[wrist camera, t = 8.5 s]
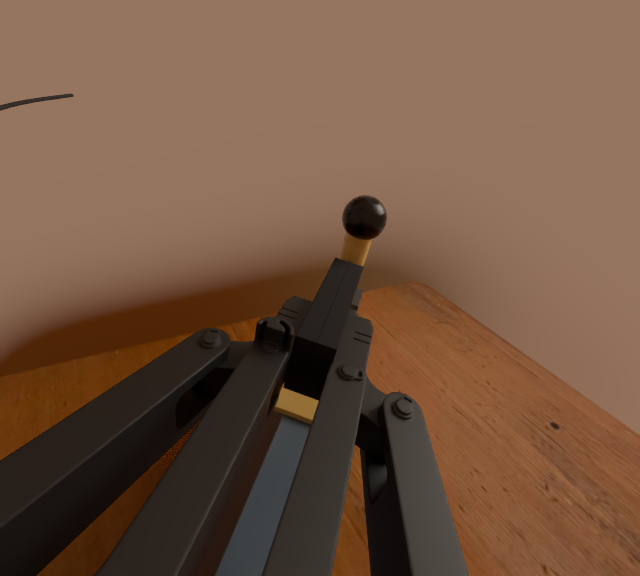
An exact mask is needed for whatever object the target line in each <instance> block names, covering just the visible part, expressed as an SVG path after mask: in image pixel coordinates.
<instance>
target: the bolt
mask: <svg viewBox="0 0 640 576" xmlns="http://www.w3.org/2000/svg"><path fill="white" fill-rule="evenodd" d="M386 220H387V214H386V210H385V208H384V206H383V204H382V203H381V202H380V201H379V200H378V199H376V198H374V197H372V196H367V195H363V196H358V197H356V198H354V199H352V200H351V201H350V202H349V203H348V204H347V205H346V207H345V209H344V212H343V216H342V222H343V226H344V228H345V230H346V234H345V238H344V241H343V244H342V248H341V251H340V255H339V259H341V260H345V261H348V262H351V263H354V264H357V265H360V266H364V263H365V259H366V256H367V253H368V250H369V247H370V244H371V241H372V239H373V238H375V237H377V236H378V235H379V234H380V233H381V232H382V231H383V229H384V227H385V225H386Z"/></svg>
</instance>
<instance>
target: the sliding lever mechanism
mask: <svg viewBox="0 0 640 576" xmlns="http://www.w3.org/2000/svg"><path fill="white" fill-rule="evenodd" d="M362 292H363V290H360V289H356V292H355V295H354V298H353V301H352V304H351V307H350V311H349V313H350V314H353V315H356V316H358V315H359V314H358V313H356V311H357V310H358V307H359V303H360V300H361V296H362ZM283 386H284V384H283ZM283 386H282V388H281V390H280V395H279V399H278V401H277V404H276V406H275V408H274V410H273V412H272V414H271V417H270V419H269V421H268V423H267V425H266V428H265V430H264V432H263V434H262V436H261V438H260V441H259V443H258V445H257V447H256V449H255V452H254V454H253V456H252V458H251V460H250V462H249V465H248V467H247V469H246V471H245V473H244V476H243V478H242V480H241V482H240V484H239V486H238V489H237V491H236V493H235V495H234V497H233V500H232V502H231V504H230V506H229V508H228V510H227V513H226V515H225V517H224V519H223V521H222V524H221V526H220V528H219V530H218V532H217V534H216V537H215V539H214V541H213V543H212V545H211V548H210V550H209V552H208V554H207V556H206V558H205V561H204V563H203V565H202V567H201V569H200V572H199V574H198V576H261V575H262V572H263V569H264V566H265V563H266V560H267V557H268V554H269V551H270V548H271V545H272V542H273V539H274V536H275V533H276V530H277V526H278V523H279V520H280V517H281V514H282V511H283V508H284V505H285V502H286V499H287V496H288V493H289V490H290V487H291V484H292V481H293V478H294V475H295V472H296V469H297V466H298V463H299V459H300V456H301V453H302V450H303V447H304V444H305V441H306V438H307V435H308V432H309V429H310V426H311V423H312V420H313V417H314V414H315V411H316V408H317V405H318V402H319V401H318V400H315V399H313V398H310V397H307V396H304V395H302V394H299V393H296V392H294V391H291V390H288V389H285V388H283Z"/></svg>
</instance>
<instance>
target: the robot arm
mask: <svg viewBox="0 0 640 576" xmlns="http://www.w3.org/2000/svg"><path fill="white" fill-rule="evenodd" d="M67 97H73V94H64V95H56V96H48V97H41V98H34V99H27V100H22V101H17V102H12V103H8V104H4V105H0V110H4V109H7V108H11V107H15V106H19V105H23V104H28V103H34V102H40V101H45V100H53V99H60V98H67ZM362 270H363V266H360V265H357V264H354V263H351V262H348V261H345V260H341V259H338V258H335V260H334V262H333V263H332V265H331V267H330V269H329V271H328V273H327V275H326V277H325V279H324V281H323V283H322V285H321V287H320V289H319V291H318V292H317V295H316V296H315V298H314V300H313V302H311V301H308V300H305V299H302V298H300V297H297V296H294V297H292V298H290V299H288V300H286V302H285V304H284V305H283V306H282V308H281V309H280V311H279V312H278V314H277V315H276V317H275V316H273V317H265V318H262V319H261V320H259V321H258V322H257V326H256V333H255V340H254V341H250V342H238V341H230V338H229V335H228V334H227V333H226V332H224V331H222V330H220V329H216V328H207V329H202V330H200V331H198V332H196V333H194V334H193V335H191V336H190V337H188V338H187V339H185V340H183V341H182V342H180V343H179V344H177V345H176V346H174V347H173V348H171V349H170V350H168V351H167V352H165V353H164V354H162V355H161V356H159V357H158V358H156V359H155V360H153V361H152V362H150V363H148V364H147V365H145V366H144V367H142V368H141V369H139V370H138V371H136V372H135V373H133V374H132V375H130V376H129V377H127V378H126V379H124V380H123V381H121V382H120V383H118V384H117V385H115V386H113V387H112V388H110V389H109V390H107V391H106V392H104V393H103V394H101V395H100V396H98V397H97V398H95V399H94V400H92V401H91V402H89V403H88V404H86V405H85V406H83V407H81V408H80V409H78V410H77V411H75V412H74V413H72V414H71V415H69V416H68V417H66V418H65V419H63V420H62V421H60V422H59V423H57V424H56V425H54V426H53V427H51V428H50V429H48V430H46V431H45V432H43V433H42V434H40V435H39V436H37V437H36V438H34V439H33V440H31V441H30V442H28V443H27V444H25V445H24V446H22V447H21V448H19V449H18V450H16V451H15V452H13V453H11V454H10V455H8V456H7V457H5V458H4V459H2V460H1V461H0V576H36V575H37V574H38V573H39V572H40V571H42V570H43V569H44V568H45V567H46V566H47V565H48V564H49V563H50V562H51V561H52V560H53V559H54V558H55V557H56V556H57V555H58V554H59V553H60V552H62V551H63V550H64V549H65V548H66V547H67V546H68V545H69V544H70V543H71V542H72V541H73V540H74V539H75V538H76V537H77V536H78V535H79V534H80V533H82V532H83V531H84V530H85V529H86V528H87V527H88V526H89V525H90V524H91V523H92V522H93V521H94V520H95V519H96V518H97V517H98V516H99V515H100V514H102V513H103V512H104V511H105V510H106V509H107V508H108V507H109V506H110V505H111V504H112V503H113V502H114V501H115V500H116V499H117V498H118V497H119V496H120V495H122V494H123V493H124V492H125V491H126V490H127V489H128V488H129V487H130V486H131V485H132V484H133V483H134V482H135V481H136V480H137V479H138V478H139V477H140V476H142V475H143V474H144V473H145V472H146V471H147V470H148V469H149V468H150V467H151V466H152V465H153V464H154V463H155V462H156V461H157V460H158V459H159V458H160V457H162V456H163V455H164V454H165V453H166V452H167V451H168V450H169V449H170V448H171V447H172V446H173V445H174V444H175V443H176V442H177V441H178V440H179V439H180V438H182V437H183V436H184V435H185V434H186V433H187V432H188V431H189V430H190V429H191V428H192V427H193V426H194V425H195V424H196V423H197V422H198V421H199V420H200V419H201V420H200V422H199V423H198V425H197V426H196V428H195V429H194V431H193V432H192V434H191V435H190V437H189V438H188V440H187V441H186V443H185V444H184V446H183V447H182V449H181V450H180V451H179V453H178V454H177V456H176V457H175V459H174V460H173V462H172V463H171V465H170V466H169V468H168V469H167V471H166V472H165V474H164V475H163V477H162V478H161V480H160V481H159V483H158V484H157V486H156V487H155V489H154V490H153V492H152V493H151V495H150V496H149V497H148V499H147V500H146V502H145V503H144V505H143V506H142V508H141V509H140V511H139V512H138V514H137V515H136V517H135V518H134V520H133V521H132V523H131V524H130V526H129V527H128V529H127V530H126V532H125V533H124V535H123V536H122V538H121V539H120V541H119V542H118V543H117V545H116V546H115V548H114V549H113V551H112V552H111V554H110V555H109V557H108V558H107V560H106V561H105V563H104V564H103V565H102V567H101V568H100V569H99V570H98V571H97V572H96V573H95V574H94V575H93V576H198V574H199V572H200V569H201V567H202V565H203V563H204V561H205V558H206V556H207V554H208V552H209V550H210V548H211V545H212V543H213V541H214V539H215V537H216V534H217V532H218V530H219V528H220V526H221V524H222V521H223V519H224V517H225V515H226V513H227V510H228V508H229V506H230V504H231V502H232V500H233V497H234V495H235V493H236V491H237V489H238V486H239V484H240V482H241V480H242V478H243V476H244V473H245V471H246V469H247V467H248V465H249V462H250V460H251V458H252V456H253V454H254V452H255V449H256V447H257V445H258V443H259V441H260V438H261V436H262V434H263V432H264V430H265V428H266V425H267V423H268V421H269V419H270V417H271V414H272V412H273V410H274V408H275V406H276V404H277V401H278V399H279V395H280V390H281V388H282V386H283V384H284V386H283V388H285V389H288V390H291V391H294V392H296V393H299V394H302V395H304V396H307V397H310V398H313V399H315V400H318V401H319V402H318V405H317V408H316V411H315V414H314V417H313V420H312V423H311V426H310V429H309V432H308V435H307V438H306V441H305V444H304V447H303V450H302V453H301V456H300V459H299V463H298V466H297V469H296V472H295V475H294V478H293V481H292V484H291V487H290V490H289V493H288V496H287V499H286V502H285V505H284V508H283V511H282V514H281V517H280V520H279V523H278V526H277V530H276V533H275V536H274V539H273V542H272V545H271V548H270V551H269V554H268V557H267V560H266V563H265V566H264V569H263V572H262V575H261V576H331V573H332V568H333V562H334V557H335V551H336V546H337V540H338V534H339V529H340V523H341V518H342V512H343V507H344V501H345V496H346V490H347V485H348V479H349V474H350V468H351V463H352V457H353V451H354V446H355V445H357V446H358V447H359V448H360V455H361V466H362V478H363V489H364V501H365V512H366V524H367V535H368V547H369V558H370V570H371V576H469V575H468V571H467V568H466V564H465V561H464V557H463V554H462V550H461V547H460V543H459V540H458V536H457V533H456V529H455V525H454V522H453V518H452V515H451V511H450V508H449V504H448V501H447V497H446V494H445V490H444V487H443V483H442V480H441V476H440V473H439V469H438V466H437V462H436V459H435V455H434V452H433V448H432V445H431V441H430V438H429V434H428V431H427V427H426V424H425V420H424V417H423V413H422V411H421V409H420V407H419V405H418V404H417V403H416V402H415V400H414V399H412V398H411V397H409V396H408V395H406V394H403V393H399V392H392V393H390V394H388V395H386V394H384V393H383V392H381V391H380V390H378V389H377V388H376V387H374V386H373V385H372V383H371V382H370V381H369V379H368V377H367V374H366V366H367V361H368V355H369V350H370V344H371V339H372V334H373V327H372V324H371V321H370V320H368V319H365V318H362V317H359V316H356V315H353V314H350V313H349V311H350V307H351V304H352V301H353V298H354V295H355V292H356V289H357V285H358V282H359V279H360V276H361V273H362Z"/></svg>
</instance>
